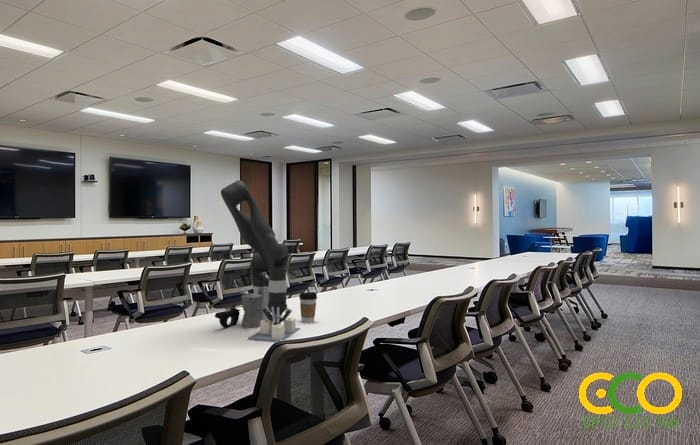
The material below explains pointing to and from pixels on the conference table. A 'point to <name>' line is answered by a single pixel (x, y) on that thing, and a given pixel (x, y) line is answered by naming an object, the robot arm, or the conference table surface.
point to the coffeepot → (251, 310)
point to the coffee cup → (308, 306)
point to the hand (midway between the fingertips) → (276, 331)
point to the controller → (226, 314)
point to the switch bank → (270, 336)
